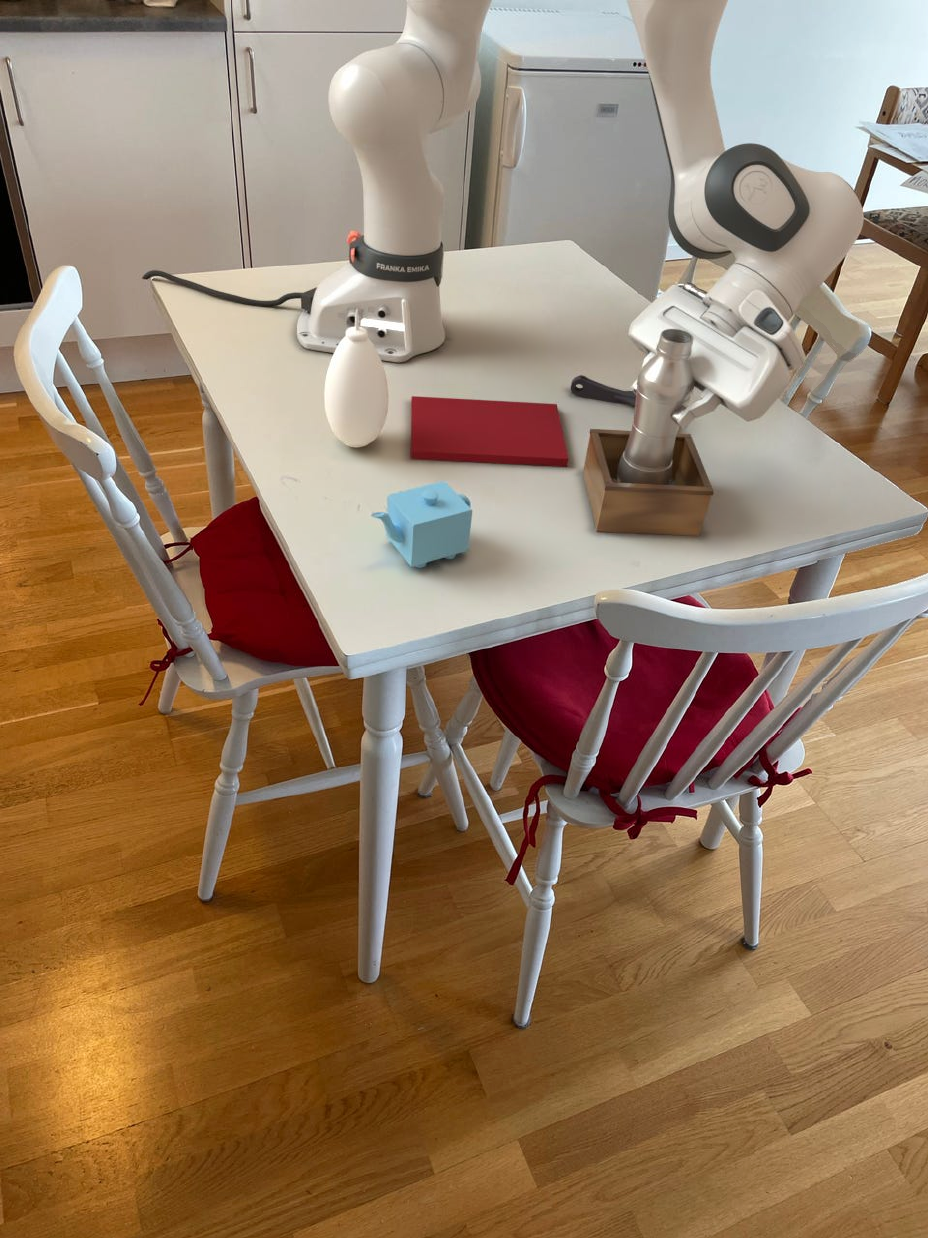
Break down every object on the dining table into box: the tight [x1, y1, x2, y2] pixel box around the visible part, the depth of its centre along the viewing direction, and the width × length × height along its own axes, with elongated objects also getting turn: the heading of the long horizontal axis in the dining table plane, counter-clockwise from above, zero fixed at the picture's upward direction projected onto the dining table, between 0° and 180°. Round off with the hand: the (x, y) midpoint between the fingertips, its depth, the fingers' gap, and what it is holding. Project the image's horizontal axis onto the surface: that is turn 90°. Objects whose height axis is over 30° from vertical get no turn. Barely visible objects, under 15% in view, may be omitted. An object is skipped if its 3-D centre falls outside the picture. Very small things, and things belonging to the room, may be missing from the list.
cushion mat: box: [410, 395, 569, 467], centre depth 127 cm, size 20×14×1 cm
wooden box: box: [582, 428, 715, 537], centre depth 116 cm, size 13×13×6 cm
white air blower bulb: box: [323, 309, 389, 448], centre depth 117 cm, size 8×8×18 cm
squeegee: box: [570, 374, 636, 407], centre depth 136 cm, size 14×15×3 cm
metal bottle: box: [616, 329, 695, 485], centre depth 110 cm, size 6×7×20 cm
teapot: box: [370, 480, 473, 569], centre depth 104 cm, size 12×6×8 cm, turn 120°
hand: (656, 408), depth 109 cm, fingers closed on metal bottle, 6 cm apart
